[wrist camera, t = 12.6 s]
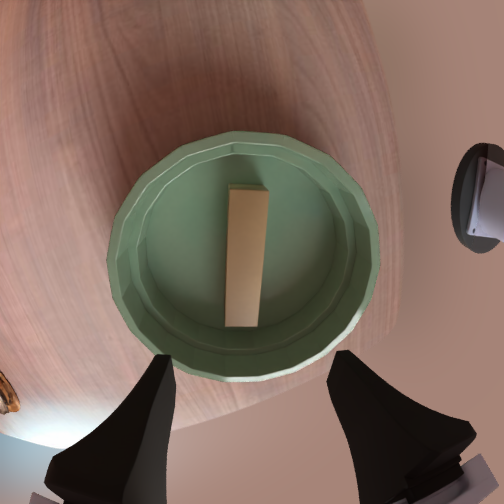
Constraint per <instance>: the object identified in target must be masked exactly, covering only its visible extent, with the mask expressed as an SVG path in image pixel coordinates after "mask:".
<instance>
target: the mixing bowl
mask: <svg viewBox="0 0 504 504" xmlns="http://www.w3.org/2000/svg"><path fill="white" fill-rule="evenodd" d="M229 183H233V184H255V185H264V186H265V187H266V188H267V189H268V190H269V204H268V216H267V228H266V239H265V251H264V262H263V273H262V284H261V295H260V305H259V316H258V326H257V327H225V322H224V290H225V256H226V228H227V205H228V185H229ZM106 261H107V268H108V275H109V281H110V287H111V292H112V298H113V300H114V302H115V304H116V306H117V308H118V310H119V311H120V313H121V315H122V317H123V319H124V321H125V322H126V324H127V326H128V328H129V329H130V331H131V332H132V333H133V334H134V335H135V336H136V337H137V338H138V339H139V340H140V341H141V342H142V343H143V344H144V345H145V346H146V347H147V348H148V349H149V350H150V351H151V352H152V353H153V354H154V355H156V354H167V355H171V358H172V364H173V366H174V367H176V368H178V369H180V370H182V371H184V372H186V373H188V374H191V375H195V376H199V377H204V378H208V379H212V380H217V381H222V382H257V381H264V380H268V379H272V378H275V377H279V376H283V375H287V374H290V373H294V372H296V371H298V370H300V369H301V368H303V367H305V366H307V365H309V364H311V363H313V362H314V361H316V360H318V359H320V358H322V357H323V356H325V355H326V354H328V353H329V352H330V351H331V350H332V349H333V348H334V347H335V346H336V345H337V344H339V343H340V342H341V341H342V340H343V339H344V338H345V337H346V336H347V335H348V334H349V333H350V332H351V331H352V330H353V328H354V327H355V325H356V324H357V322H358V321H359V319H360V317H361V316H362V314H363V312H364V311H365V309H366V308H367V306H368V304H369V302H370V301H371V298H372V295H373V291H374V287H375V284H376V280H377V276H378V272H379V268H380V248H379V233H378V225H377V222H376V220H375V217H374V215H373V213H372V210H371V208H370V206H369V203H368V201H367V199H366V197H365V194H364V192H363V190H362V188H361V187H360V186H359V184H358V183H357V182H356V181H355V180H354V179H353V178H352V177H351V176H350V175H349V174H348V173H347V172H346V171H345V170H344V169H343V168H342V167H341V166H340V165H339V164H338V163H337V162H336V161H335V160H334V159H333V158H332V157H331V156H329V155H328V154H326V153H324V152H322V151H320V150H318V149H316V148H314V147H312V146H310V145H308V144H305V143H303V142H301V141H299V140H297V139H294V138H292V137H290V136H288V135H284V134H276V133H265V132H251V131H228V132H224V133H221V134H217V135H214V136H210V137H207V138H203V139H200V140H197V141H193V142H190V143H187V144H184V145H182V146H179V147H178V148H177V149H175V150H174V151H172V152H171V153H170V154H168V155H167V156H166V157H164V158H163V159H162V160H160V161H159V162H158V163H156V164H155V165H154V166H152V167H151V168H150V169H148V170H147V171H146V172H145V173H143V174H142V175H141V176H140V177H139V178H138V180H137V181H136V183H135V184H134V186H133V187H132V189H131V191H130V192H129V194H128V195H127V197H126V198H125V200H124V202H123V203H122V205H121V207H120V208H119V210H118V212H117V213H116V215H115V218H114V222H113V226H112V231H111V236H110V241H109V246H108V252H107V259H106Z"/></svg>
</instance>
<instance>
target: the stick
mask: <svg viewBox="0 0 504 504" xmlns="http://www.w3.org/2000/svg"><path fill="white" fill-rule="evenodd" d="M268 204H269V190H268V189H267V188H266V187H265V186H264V185H255V184H233V183H229V185H228V205H227V228H226V256H225V290H224V322H225V327H257V326H258V316H259V305H260V295H261V284H262V273H263V262H264V251H265V239H266V228H267V216H268Z"/></svg>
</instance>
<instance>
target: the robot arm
mask: <svg viewBox="0 0 504 504" xmlns="http://www.w3.org/2000/svg"><path fill="white" fill-rule="evenodd" d="M466 231H467V234H469V235H474V236H483V237H491V238H497V239H498V240H500V241H502V242H504V167H503V166H501V165H499V164H496V163H494V162H492V161H490V160H488V159H486V158H484V157H479V159H478V166H477V174H476V181H475V188H474V194H473V200H472V206H471V211H470V216H469V220H468V225H467V230H466ZM326 382H327V386H328V390H329V394H330V398H331V401H332V403H333V406H334V408H335V411H336V413H337V416H338V418H339V421H340V423H341V425H342V428H343V430H344V433H345V435H346V438H347V441H348V444H349V448H350V451H351V455H352V459H353V463H354V468H355V473H356V478H357V485H358V491H359V501H360V504H478V503H480V502H481V501H482V500H483V499H484V498H486V497H487V496H488V495H489V494H490V493H491V492H493V491H494V490H495V489H496V488H497V487H498V486H499V484H498V483H497V481H496V479H495V477H494V475H493V474H492V472H491V470H490V469H489V467H488V465H487V464H486V462H485V460H484V458H483V457H482V456H481V454H478V455H477V456H475V457H474V458H472V459H471V460H469V461H467V462H466V463H465V464H463V465H462V466H460V464H459V462H460V461H461V457H460V454H461V453H462V452H463V451H464V450H465V449H466V447H468V446H469V445H470V444H471V443H472V442H473V440H474V439H475V438H476V434H477V433H476V432H475V430H474V429H473V427H472V426H471V424H470V423H469V421H465V420H461V419H457V418H453V417H449V416H447V415H444V414H441V413H439V412H436V411H434V410H431V409H429V408H427V407H425V406H423V405H421V404H419V403H417V402H415V401H413V400H412V399H410V398H409V397H407V396H405V395H404V394H402V393H401V392H399V391H398V390H396V389H395V388H394V387H392V386H391V385H389V384H388V383H387V382H386V381H384V380H383V379H382V378H381V377H379V376H378V375H377V374H376V373H375V372H373V371H372V370H371V369H370V368H369V367H368V366H367V365H365V364H364V363H363V362H362V361H361V360H360V359H359V358H358V357H356V356H355V355H354V354H353V353H352V352H351V351H349V350H342V351H336V354H335V357H334V360H333V363H332V366H331V369H330V372H329V375H328V378H327V381H326ZM175 397H176V382H175V377H174V370H173V364H172V358H171V355H167V354H156V355H155V356H154V358H153V360H152V362H151V363H150V365H149V366H148V368H147V370H146V371H145V373H144V374H143V376H142V377H141V378H140V380H139V381H138V383H137V384H136V385H135V387H134V388H133V390H132V391H131V392H130V393H129V395H128V396H127V397H126V398H125V399H124V401H123V402H122V403H121V404H120V405H119V406H118V408H117V409H116V410H115V411H114V412H113V413H112V414H111V415H110V416H109V417H108V418H107V419H106V420H105V421H104V422H103V423H101V424H100V425H99V426H98V427H97V428H96V429H95V430H93V431H92V432H91V433H90V434H88V435H87V436H85V437H84V438H83V439H81V440H80V441H78V442H77V443H76V444H74V445H72V446H71V447H69V448H67V449H65V450H64V451H62V452H60V453H58V454H56V455H55V456H53V458H52V460H51V462H50V464H49V467H48V470H47V474H46V477H45V481H44V483H45V485H46V486H47V488H48V489H50V490H51V491H52V492H54V493H55V494H56V495H58V496H59V497H60V498H62V499H63V500H64V503H63V504H167V500H166V465H167V449H168V443H169V437H170V431H171V425H172V420H173V414H174V408H175ZM29 504H59V503H57V502H55V501H52V500H50V499H48V498H45V497H43V496H41V495H39V494H37V493H35V492H33V493H32V495H31V499H30V503H29Z"/></svg>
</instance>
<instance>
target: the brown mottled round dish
mask: <svg viewBox="0 0 504 504" xmlns="http://www.w3.org/2000/svg"><path fill="white" fill-rule="evenodd" d="M19 409H20V403H19V400H18V398H17V396H16V394H15V392H14V390H13V389H12V387H11V386H10V384H9V383H8V382H7V381H6V379H5V377H4V375H2V374H1V373H0V413H1V414H3V415H5V414H6V413H9V411H10V412H17V411H19Z"/></svg>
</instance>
